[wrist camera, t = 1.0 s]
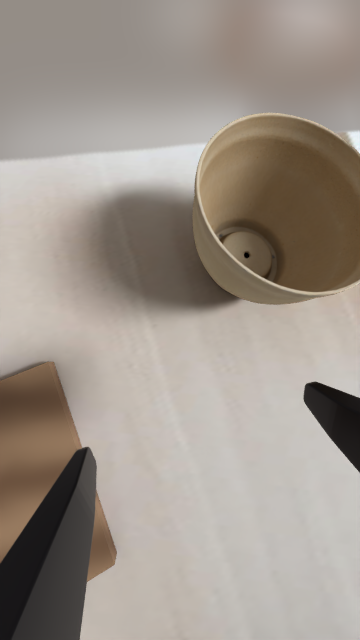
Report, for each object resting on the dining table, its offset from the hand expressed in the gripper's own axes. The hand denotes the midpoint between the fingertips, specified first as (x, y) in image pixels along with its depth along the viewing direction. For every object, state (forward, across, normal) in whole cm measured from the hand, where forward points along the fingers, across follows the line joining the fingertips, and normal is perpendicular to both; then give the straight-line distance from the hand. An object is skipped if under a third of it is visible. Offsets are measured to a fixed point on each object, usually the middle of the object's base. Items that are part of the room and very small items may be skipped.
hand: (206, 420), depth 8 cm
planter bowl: (+19, -12, -2) cm, 23 cm away
